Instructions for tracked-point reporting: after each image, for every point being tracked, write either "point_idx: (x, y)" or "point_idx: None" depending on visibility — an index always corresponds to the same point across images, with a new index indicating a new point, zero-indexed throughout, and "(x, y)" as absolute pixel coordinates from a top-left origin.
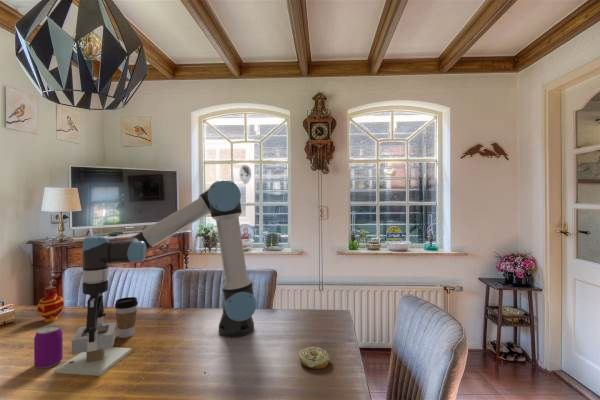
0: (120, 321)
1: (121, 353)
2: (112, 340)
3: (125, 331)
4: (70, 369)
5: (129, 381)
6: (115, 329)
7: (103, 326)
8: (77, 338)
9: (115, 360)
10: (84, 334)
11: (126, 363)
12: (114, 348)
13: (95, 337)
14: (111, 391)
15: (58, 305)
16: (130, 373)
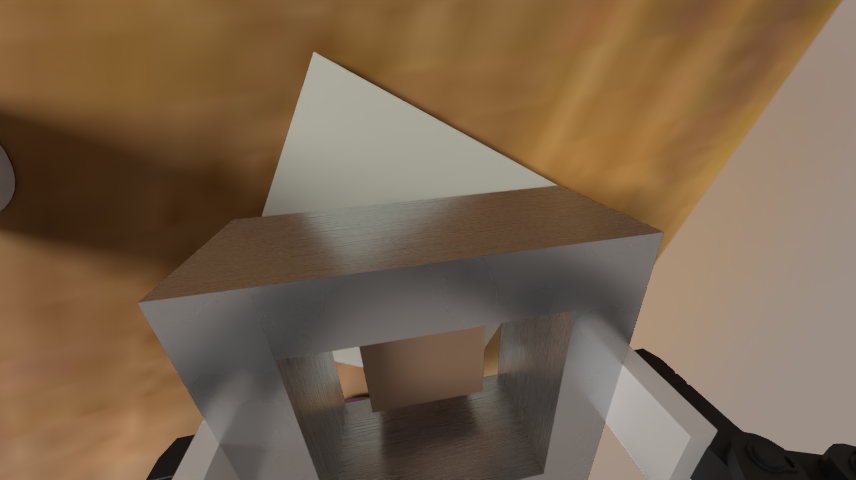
0: None
1: (390, 125)
2: (604, 205)
3: None
4: (487, 334)
5: (722, 21)
6: (323, 246)
7: (299, 404)
8: (567, 476)
9: (486, 147)
10: (367, 459)
11: (499, 71)
12: (289, 192)
13: (645, 371)
14: (745, 108)
15: None
16: (640, 25)
